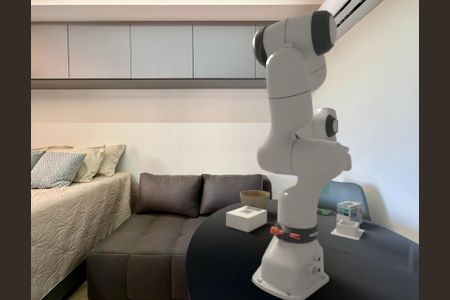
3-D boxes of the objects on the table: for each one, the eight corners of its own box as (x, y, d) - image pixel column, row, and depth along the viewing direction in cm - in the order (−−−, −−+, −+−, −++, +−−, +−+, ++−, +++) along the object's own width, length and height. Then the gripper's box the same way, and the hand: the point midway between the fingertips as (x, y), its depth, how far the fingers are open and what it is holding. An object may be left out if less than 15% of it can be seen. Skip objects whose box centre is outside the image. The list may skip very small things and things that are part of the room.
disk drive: (299, 214, 127) (327, 219, 118) (299, 209, 127) (327, 214, 118) (305, 210, 135) (333, 215, 126) (305, 205, 135) (333, 210, 126)
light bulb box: (350, 230, 102) (350, 206, 102) (335, 225, 108) (336, 202, 107) (362, 226, 108) (363, 203, 108) (348, 222, 114) (349, 200, 113)
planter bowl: (249, 207, 138) (249, 189, 137) (274, 212, 128) (274, 192, 128) (234, 213, 125) (234, 193, 124) (261, 219, 115) (261, 197, 115)
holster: (358, 244, 88) (358, 231, 88) (330, 237, 94) (330, 224, 94) (364, 233, 99) (364, 221, 99) (338, 227, 105) (339, 216, 105)
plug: (326, 194, 96) (326, 166, 96) (318, 193, 98) (319, 166, 98) (329, 192, 99) (329, 166, 99) (321, 191, 101) (322, 165, 101)
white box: (247, 232, 98) (248, 217, 98) (226, 225, 106) (226, 212, 106) (266, 222, 110) (266, 209, 110) (245, 217, 118) (246, 205, 118)
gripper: (298, 146, 102) (297, 178, 103) (349, 147, 89) (348, 183, 89) (303, 146, 107) (302, 176, 107) (353, 147, 94) (352, 181, 94)
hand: (324, 179), depth 98 cm, fingers closed on plug, 3 cm apart
